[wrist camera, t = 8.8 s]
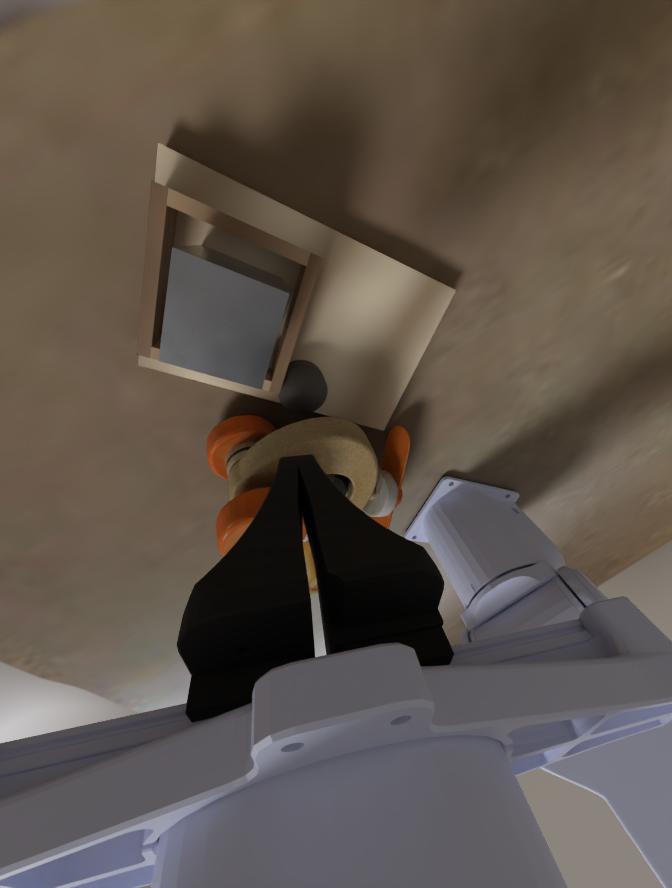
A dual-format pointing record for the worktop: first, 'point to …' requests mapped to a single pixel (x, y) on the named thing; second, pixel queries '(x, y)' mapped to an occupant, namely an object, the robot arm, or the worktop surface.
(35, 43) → the worktop surface
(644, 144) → the worktop surface
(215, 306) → the grey rectangular block
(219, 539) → the toy helicopter
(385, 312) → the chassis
